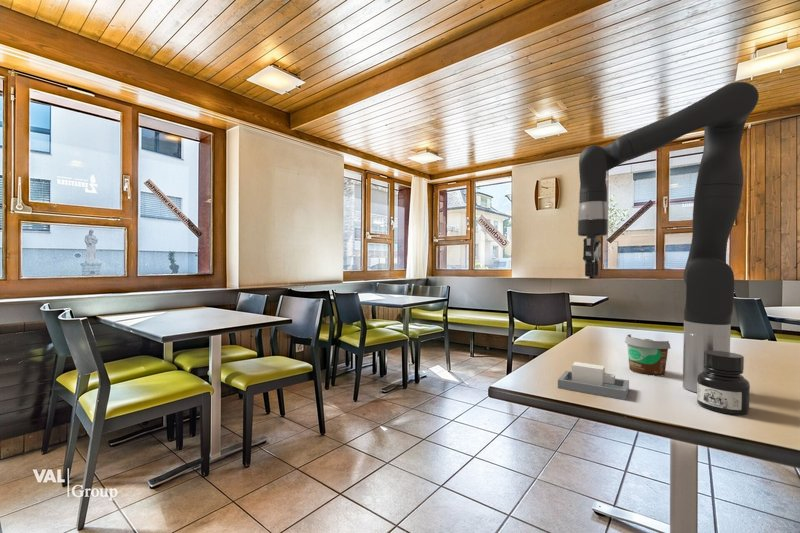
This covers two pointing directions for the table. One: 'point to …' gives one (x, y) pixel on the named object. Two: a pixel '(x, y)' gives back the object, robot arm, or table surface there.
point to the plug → (591, 374)
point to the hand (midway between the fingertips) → (591, 276)
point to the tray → (595, 387)
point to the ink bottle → (723, 383)
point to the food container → (647, 355)
